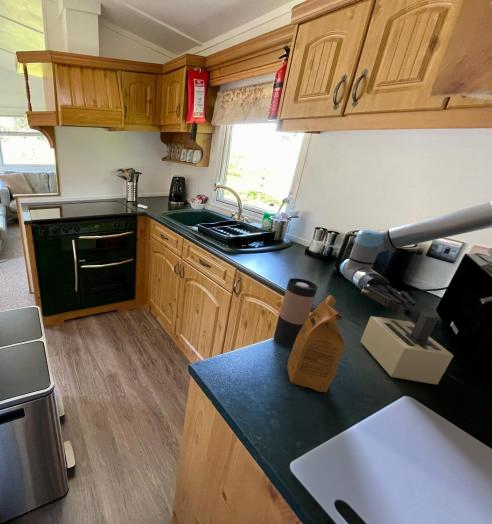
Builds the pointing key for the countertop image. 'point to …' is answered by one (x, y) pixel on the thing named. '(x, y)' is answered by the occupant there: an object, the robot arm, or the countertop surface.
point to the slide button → (423, 329)
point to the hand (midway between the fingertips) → (420, 319)
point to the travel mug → (294, 311)
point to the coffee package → (317, 349)
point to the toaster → (404, 351)
